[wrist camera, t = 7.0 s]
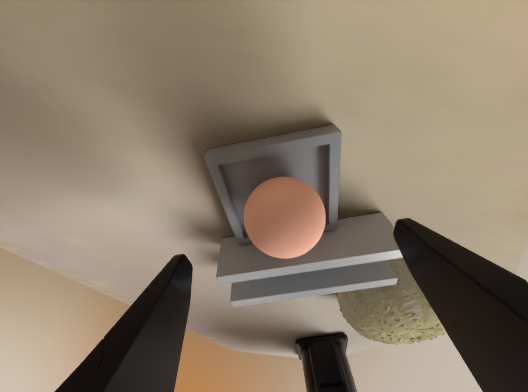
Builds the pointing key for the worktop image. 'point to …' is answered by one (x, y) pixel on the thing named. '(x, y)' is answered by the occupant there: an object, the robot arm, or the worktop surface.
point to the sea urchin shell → (392, 310)
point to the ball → (284, 217)
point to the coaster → (277, 170)
